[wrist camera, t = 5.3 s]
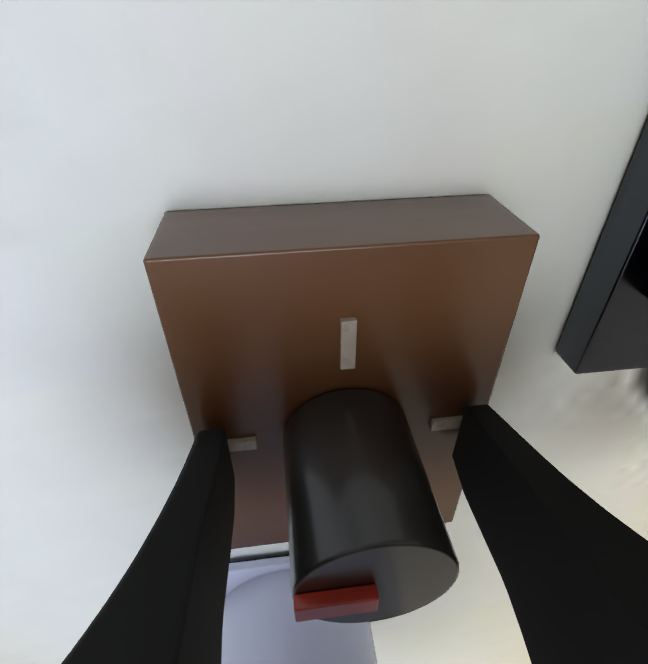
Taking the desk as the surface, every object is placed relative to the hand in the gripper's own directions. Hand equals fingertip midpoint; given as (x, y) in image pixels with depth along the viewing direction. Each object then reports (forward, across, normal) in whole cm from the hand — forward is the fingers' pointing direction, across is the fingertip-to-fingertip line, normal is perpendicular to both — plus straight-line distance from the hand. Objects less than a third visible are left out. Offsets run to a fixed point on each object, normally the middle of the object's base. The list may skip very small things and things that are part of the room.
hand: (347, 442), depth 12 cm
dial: (0, 0, 0) cm, 0 cm away
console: (+3, 0, 0) cm, 3 cm away
